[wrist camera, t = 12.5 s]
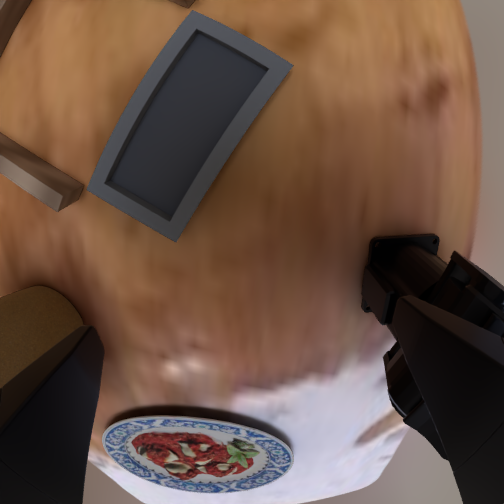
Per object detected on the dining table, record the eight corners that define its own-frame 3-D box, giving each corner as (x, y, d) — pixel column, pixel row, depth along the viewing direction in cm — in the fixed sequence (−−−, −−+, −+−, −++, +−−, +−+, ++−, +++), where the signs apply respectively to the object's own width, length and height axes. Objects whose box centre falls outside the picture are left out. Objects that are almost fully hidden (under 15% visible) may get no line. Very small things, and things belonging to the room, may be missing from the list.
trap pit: (288, 70, 16) (293, 65, 14) (180, 233, 20) (176, 242, 18) (195, 18, 14) (192, 10, 12) (96, 184, 18) (86, 189, 17)
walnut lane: (198, -5, 13) (193, -24, 10) (78, 199, 18) (57, 212, 16) (53, -41, 9) (36, -53, 6) (-33, 125, 14) (-55, 130, 12)
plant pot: (-20, 257, 20) (-118, 352, 5) (89, 236, 20) (-50, 398, 5) (36, 370, 26) (-15, 475, 11) (143, 378, 26) (110, 527, 11)
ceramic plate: (154, 482, 39) (152, 495, 36) (70, 400, 28) (63, 418, 25) (298, 473, 38) (300, 488, 35) (278, 387, 27) (282, 410, 25)
